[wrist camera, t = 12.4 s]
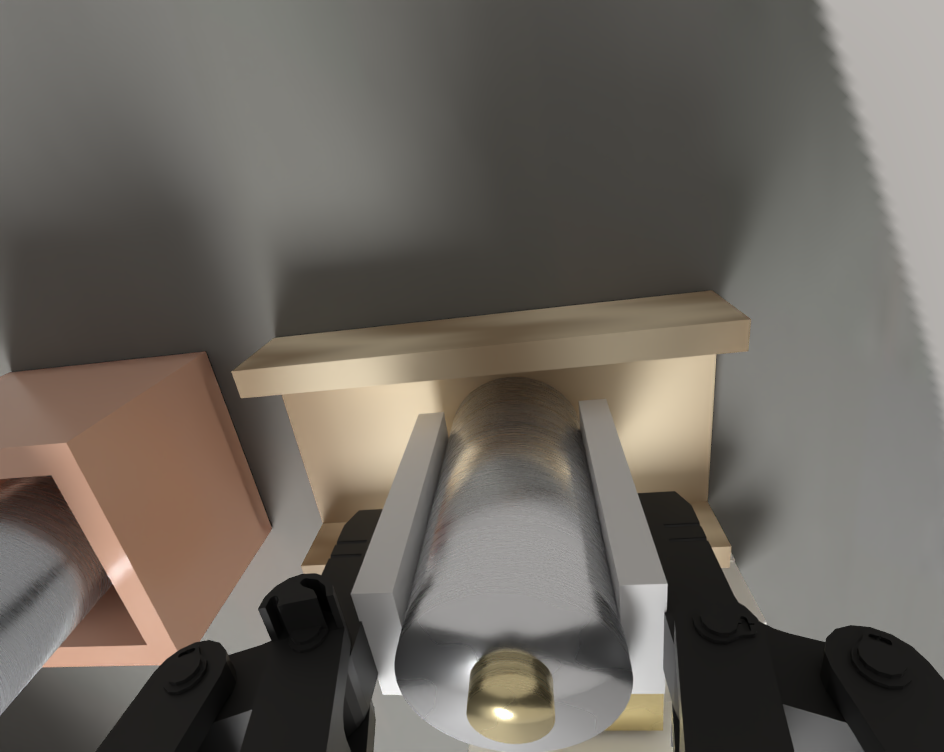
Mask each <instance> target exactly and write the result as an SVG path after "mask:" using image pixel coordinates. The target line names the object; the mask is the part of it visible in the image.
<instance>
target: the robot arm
mask: <svg viewBox="0 0 944 752" xmlns="http://www.w3.org/2000/svg"><path fill="white" fill-rule="evenodd" d="M579 418H580V431H581V436H582V441H583V445H584V450H585V455H586V460H587V465H588V469H589V474H590V479H591V484H592V489H593V493H594V498H595V503H596V508H597V513H598V517H599V522H600V527H601V532H602V537H603V541H604V546H605V551H606V556H607V561H608V565H609V570H610V575H611V580H612V585H613V589H614V594H615V599H616V604H617V609H618V613H619V618H620V623H621V625H622V628H623V631H624V634H625V638H626V642H627V647H628V652H629V657H630V661H631V666H632V672H633V689H632V693H631V694H665V678H666V682H667V685H668V689H669V693H670V697H671V700H672V718H671V747H673V752H944V680H943V678H942V677H941V676H940V675H939V674H938V672H937V671H936V670H935V669H934V668H933V666H932V665H931V664H930V663H929V662H928V661H927V660H926V659H925V658H924V657H923V656H922V655H921V654H920V653H918V652H917V651H916V650H915V649H914V648H913V647H912V646H910V645H909V644H907V643H905V642H903V641H902V640H900V639H898V638H897V637H895V636H893V635H891V634H889V633H886V632H883V631H880V630H877V629H874V628H871V627H863V626H852V625H850V626H846V627H842V628H838V629H835V630H834V631H833V632H832V633H831V634H830V635H829V636H828V637H827V638H826V642H822V641H818V640H814V639H810V638H805V637H801V636H797V635H793V634H789V633H786V632H783V631H780V630H776V629H774V628H772V627H770V626H768V625H766V624H764V623H762V622H760V621H759V620H758V618H757V617H756V616H755V615H754V614H753V613H752V612H751V611H750V610H749V609H748V608H746V607H745V606H744V605H742V604H740V603H739V602H738V601H737V599H736V597H735V596H734V594H733V592H732V590H731V588H730V586H729V583H728V581H727V579H726V577H725V575H724V573H723V571H722V569H721V567H720V564H719V562H718V560H717V558H716V556H715V554H714V552H713V550H712V547H711V545H710V543H709V541H707V537H706V535H705V533H704V530H703V528H702V526H700V522H699V520H698V518H697V516H696V513H695V511H694V509H693V507H692V505H691V504H690V503H688V502H687V501H686V500H685V499H684V498H683V497H681V496H680V495H679V494H678V493H677V492H676V491H667V492H649V493H637V490H636V487H635V484H634V481H633V478H632V475H631V472H630V469H629V466H628V463H627V460H626V457H625V454H624V451H623V448H622V445H621V442H620V439H619V436H618V433H617V430H616V427H615V424H614V421H613V418H612V415H611V412H610V409H609V406H608V403H607V400H606V399H596V400H584V401H579ZM448 439H449V437H448V431H447V426H446V420H445V415H444V412H437V413H425V414H419V415H418V417H417V420H416V423H415V425H414V428H413V431H412V433H411V436H410V438H409V441H408V444H407V446H406V449H405V452H404V454H403V457H402V460H401V462H400V465H399V468H398V470H397V473H396V476H395V478H394V481H393V483H392V486H391V489H390V491H389V494H388V497H387V499H386V502H385V505H384V507H383V509H372V510H359V511H358V512H357V513H356V514H355V515H354V516H353V517H352V518H351V519H350V520H349V521H348V522H347V523H346V524H345V525H344V527H343V529H342V531H341V533H340V535H339V538H338V540H337V545H335V546H334V548H333V551H332V553H331V558H329V559H328V561H327V563H326V566H325V568H324V570H323V572H322V574H321V575H320V574H317V573H310V574H301V575H298V576H295V577H292V578H289V579H287V580H285V581H284V582H282V583H280V584H279V585H277V586H276V587H275V588H274V589H273V590H271V591H270V592H269V593H268V594H267V595H266V596H265V598H264V599H263V601H262V603H261V605H260V606H259V608H258V610H259V612H260V615H261V617H262V619H263V622H264V624H265V626H266V629H267V631H268V634H269V636H270V638H271V641H270V642H267V643H265V644H263V645H260V646H257V647H253V648H250V649H247V650H244V651H241V652H237V653H234V654H231V655H228V654H227V652H226V650H225V649H224V647H223V646H222V645H221V644H220V643H218V642H214V641H210V640H207V641H201V642H195V643H193V644H191V645H188V646H186V647H184V648H182V649H180V650H178V651H177V652H176V653H174V654H173V655H171V656H170V657H169V658H167V659H166V660H165V661H164V662H163V663H162V664H161V665H160V666H159V667H158V669H157V670H156V671H155V672H154V673H153V674H152V676H151V677H150V678H149V680H148V681H147V682H146V684H145V685H144V687H143V688H142V689H141V691H140V692H139V693H138V695H137V696H136V697H135V699H134V700H133V701H132V703H131V704H130V706H129V707H128V708H127V710H126V711H125V712H124V714H123V715H122V716H121V718H120V719H119V721H118V722H117V723H116V725H115V726H114V727H113V729H112V730H111V731H110V733H109V734H108V735H107V737H106V738H105V740H104V741H103V742H102V744H101V745H100V746H99V748H98V749H97V750H96V752H373V750H374V736H375V721H376V719H375V711H374V706H373V703H372V700H371V699H372V695H373V691H374V687H375V684H376V680H377V678H378V681H379V684H380V687H381V690H382V693H383V695H402V693H401V691H400V689H399V686H398V684H397V681H396V676H395V670H394V660H395V655H396V650H397V646H398V642H399V637H400V633H401V629H402V625H403V621H404V617H405V613H406V609H407V605H408V601H409V597H410V593H411V589H412V585H413V581H414V577H415V573H416V569H417V565H418V561H419V557H420V553H421V549H422V545H423V541H424V536H425V532H426V528H427V524H428V520H429V516H430V512H431V508H432V504H433V500H434V496H435V492H436V488H437V484H438V480H439V476H440V472H441V468H442V464H443V460H444V456H445V452H446V448H447V444H448Z"/></svg>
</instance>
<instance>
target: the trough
mask: <svg viewBox="0 0 944 752" xmlns="http://www.w3.org/2000/svg"><path fill="white" fill-rule="evenodd" d="M750 325H751V319H750V318H749V317H747V316H746V315H745V314H743V313H742V312H741V311H739V310H738V309H737V308H735V307H734V306H732V305H731V304H730V303H728V302H727V301H726V300H724V299H723V298H722V297H720V296H719V295H718V294H716V293H715V292H714V291H712V290H710V291H701V292H692V293H683V294H673V295H664V296H655V297H646V298H637V299H627V300H618V301H609V302H600V303H591V304H581V305H572V306H563V307H554V308H545V309H535V310H526V311H517V312H508V313H499V314H489V315H480V316H471V317H462V318H453V319H443V320H434V321H425V322H416V323H407V324H397V325H388V326H379V327H370V328H361V329H351V330H342V331H333V332H324V333H315V334H306V335H296V336H287V337H278V338H273V339H272V340H271V341H270V342H268V343H267V344H266V345H264V346H263V347H262V348H261V349H259V350H258V351H257V352H256V353H254V354H253V355H252V356H250V357H249V358H248V359H247V360H245V361H244V362H243V363H242V364H240V365H239V366H238V367H236V368H235V369H234V370H233V371H231V372H232V375H233V378H234V380H235V383H236V386H237V389H238V392H239V394H240V397H241V398H250V397H261V396H272V395H282V398H283V401H284V404H285V407H286V410H287V413H288V416H289V419H290V423H291V426H292V429H293V432H294V435H295V438H296V441H297V444H298V447H299V451H300V454H301V457H302V460H303V463H304V466H305V469H306V472H307V475H308V479H309V482H310V485H311V488H312V491H313V494H314V497H315V500H316V503H317V507H318V510H319V513H320V516H321V519H322V522H323V524H322V526H321V528H320V530H319V532H318V534H317V536H316V538H315V540H314V542H313V544H312V546H311V548H310V550H309V551H308V553H307V555H306V557H305V559H304V561H303V563H302V565H301V567H302V570H303V573H304V574H310V573H317V574H320V575H321V574H322V572H323V570H324V568H325V566H326V563H327V561H328V559H329V558H331V553H332V551H333V548H334V546H335V545H337V540H338V538H339V535H340V533H341V531H342V529H343V527H344V525H345V524H346V523H347V522H348V521H349V520H350V519H351V518H352V517H353V516H354V515H355V514H356V513H357V512H358V511H359V510H372V509H383V507H384V505H385V502H386V499H387V497H388V494H389V491H390V489H391V486H392V483H393V481H394V478H395V476H396V473H397V470H398V468H399V465H400V462H401V460H402V457H403V454H404V452H405V449H406V446H407V444H408V441H409V438H410V436H411V433H412V431H413V428H414V425H415V423H416V420H417V417H418V415H419V414H425V413H437V412H444V415H445V420H446V426H447V431H448V437H449V435H450V431H451V427H452V423H453V419H454V416H455V413H456V411H457V409H458V407H459V405H460V404H461V403H462V401H463V400H464V399H465V398H466V397H467V396H468V395H469V393H471V392H472V391H473V390H475V389H476V388H478V387H479V386H481V385H483V384H485V383H487V382H489V381H492V380H496V379H499V378H505V377H526V378H531V379H535V380H538V381H541V382H544V383H546V384H548V385H550V386H552V387H553V388H555V389H557V390H558V391H559V392H560V393H562V394H563V395H564V396H565V397H566V398H567V399H568V400H569V402H570V403H571V404H572V406H573V407H574V409H575V411H576V413H577V416H578V419H579V422H580V418H579V401H584V400H596V399H606V400H607V403H608V406H609V409H610V412H611V415H612V418H613V421H614V424H615V427H616V430H617V433H618V436H619V439H620V442H621V445H622V448H623V451H624V454H625V457H626V460H627V463H628V466H629V469H630V472H631V475H632V478H633V481H634V484H635V487H636V490H637V493H649V492H667V491H676V492H677V493H678V494H679V495H680V496H681V497H683V498H684V499H685V500H686V501H687V502H688V503H690V504H691V505H692V507H693V509H694V511H695V513H696V516H697V518H698V520H699V522H700V526H702V528H703V530H704V533H705V535H706V537H707V541H709V543H710V545H711V547H712V550H713V552H714V554H715V556H716V558H717V560H718V562H719V564H720V567H721V568H730V557H731V545H730V543H729V541H728V539H727V537H726V535H725V534H724V532H723V530H722V528H721V526H720V524H719V522H718V520H717V519H716V517H715V515H714V513H713V511H712V509H711V507H710V505H709V504H708V486H709V469H710V452H711V435H712V418H713V401H714V385H715V368H716V354H724V353H735V352H746V351H748V349H749V337H750Z"/></svg>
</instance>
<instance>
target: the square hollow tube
mask: <svg viewBox="0 0 944 752" xmlns="http://www.w3.org/2000/svg"><path fill="white" fill-rule="evenodd" d="M48 475H51V476H52V477H53V479H54V481H55V483H56V484H57V486H58V488H59V490H60V492H61V493H62V495H63V497H64V499H65V500H66V502H67V504H68V506H69V507H70V509H71V511H72V513H73V515H74V516H75V518H76V520H77V522H78V523H79V525H80V527H81V529H82V531H83V532H84V534H85V536H86V538H87V539H88V541H89V543H90V545H91V546H92V548H93V550H94V552H95V554H96V555H97V557H98V559H99V561H100V562H101V564H102V566H103V568H104V569H105V571H106V573H107V575H108V577H109V578H110V580H111V582H112V586H111V587H110V588H109V589H108V590H107V591H106V593H105V594H104V595H103V596H102V597H101V598H100V600H99V601H98V602H97V603H96V604H95V606H94V607H93V608H92V609H91V610H90V611H89V613H88V614H87V615H86V616H85V617H84V618H83V620H82V621H81V622H80V623H79V624H78V625H77V627H76V628H75V629H74V630H73V631H72V632H71V634H70V635H69V636H68V637H67V638H66V639H65V641H64V642H63V643H62V644H61V645H60V646H59V648H58V649H57V650H56V651H55V652H54V653H53V655H52V656H51V657H50V658H49V659H48V660H47V662H46V663H45V664H44V665H43V666H42V667H85V666H138V665H161V664H162V663H163V662H164V661H165V660H166V659H167V658H169V657H170V656H171V655H173V654H174V653H176V652H177V651H178V650H180V649H182V648H184V647H186V646H188V645H191V644H193V643H195V642H200V640H201V638H202V637H203V635H204V634H205V632H206V631H207V629H208V628H209V626H210V624H211V623H212V621H213V620H214V618H215V617H216V615H217V614H218V612H219V610H220V609H221V607H222V606H223V604H224V603H225V601H226V600H227V598H228V596H229V595H230V593H231V592H232V590H233V589H234V587H235V586H236V584H237V583H238V581H239V579H240V578H241V576H242V575H243V573H244V572H245V570H246V569H247V567H248V565H249V564H250V562H251V561H252V559H253V558H254V556H255V555H256V553H257V551H258V550H259V548H260V547H261V545H262V544H263V542H264V541H265V539H266V537H267V536H268V534H269V533H270V531H271V530H272V527H271V525H270V522H269V519H268V517H267V514H266V511H265V509H264V506H263V503H262V501H261V498H260V495H259V493H258V490H257V487H256V485H255V482H254V479H253V477H252V474H251V471H250V468H249V466H248V463H247V460H246V458H245V455H244V452H243V450H242V447H241V444H240V442H239V439H238V436H237V434H236V431H235V428H234V426H233V423H232V420H231V418H230V415H229V412H228V410H227V407H226V404H225V402H224V399H223V396H222V394H221V391H220V388H219V386H218V383H217V380H216V378H215V375H214V372H213V370H212V367H211V364H210V362H209V359H208V356H207V354H206V351H205V352H196V353H186V354H177V355H168V356H158V357H149V358H139V359H130V360H121V361H111V362H102V363H93V364H83V365H74V366H65V367H55V368H46V369H37V370H27V371H18V372H10V373H8V374H5V375H3V376H1V377H0V485H2V484H3V483H5V482H6V481H7V480H9V479H10V478H21V477H34V476H48Z"/></svg>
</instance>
